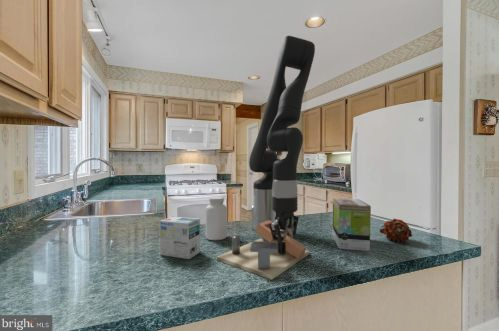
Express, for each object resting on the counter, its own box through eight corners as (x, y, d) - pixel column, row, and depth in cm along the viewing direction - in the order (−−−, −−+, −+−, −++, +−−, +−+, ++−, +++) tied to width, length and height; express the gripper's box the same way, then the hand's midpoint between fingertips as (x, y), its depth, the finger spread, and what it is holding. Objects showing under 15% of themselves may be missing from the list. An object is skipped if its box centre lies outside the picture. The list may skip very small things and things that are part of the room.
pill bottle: (230, 235, 94) (230, 197, 93) (219, 242, 86) (219, 200, 86) (213, 233, 97) (213, 195, 97) (201, 239, 90) (201, 198, 89)
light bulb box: (201, 251, 77) (201, 218, 77) (189, 260, 71) (189, 223, 71) (172, 248, 81) (172, 215, 80) (159, 255, 74) (158, 220, 74)
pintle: (230, 253, 73) (230, 236, 73) (235, 251, 75) (235, 234, 75) (236, 255, 72) (236, 238, 71) (241, 252, 73) (241, 236, 73)
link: (255, 232, 76) (258, 223, 75) (266, 228, 81) (269, 220, 80) (295, 261, 68) (299, 251, 67) (305, 254, 72) (308, 246, 72)
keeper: (252, 260, 68) (252, 241, 68) (277, 261, 67) (277, 242, 67) (250, 268, 62) (250, 247, 62) (277, 270, 62) (277, 249, 62)
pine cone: (406, 251, 81) (384, 244, 93) (424, 236, 82) (401, 231, 94) (390, 230, 82) (370, 226, 94) (408, 215, 83) (387, 213, 95)
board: (216, 260, 71) (216, 256, 71) (259, 241, 87) (259, 238, 87) (271, 279, 59) (271, 275, 59) (309, 254, 75) (309, 250, 75)
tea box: (371, 251, 77) (371, 205, 77) (337, 249, 79) (338, 204, 79) (359, 237, 92) (360, 198, 92) (331, 235, 94) (332, 197, 94)
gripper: (285, 191, 81) (285, 243, 81) (260, 196, 70) (260, 256, 70) (306, 193, 76) (306, 248, 76) (283, 199, 65) (283, 263, 65)
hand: (284, 252), depth 73 cm, fingers closed on link, 3 cm apart
